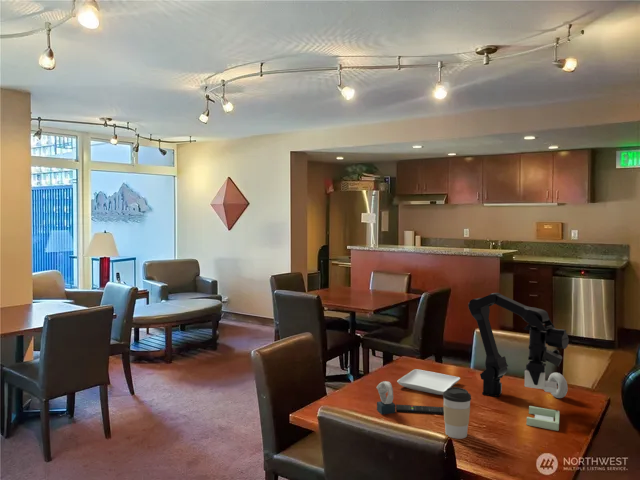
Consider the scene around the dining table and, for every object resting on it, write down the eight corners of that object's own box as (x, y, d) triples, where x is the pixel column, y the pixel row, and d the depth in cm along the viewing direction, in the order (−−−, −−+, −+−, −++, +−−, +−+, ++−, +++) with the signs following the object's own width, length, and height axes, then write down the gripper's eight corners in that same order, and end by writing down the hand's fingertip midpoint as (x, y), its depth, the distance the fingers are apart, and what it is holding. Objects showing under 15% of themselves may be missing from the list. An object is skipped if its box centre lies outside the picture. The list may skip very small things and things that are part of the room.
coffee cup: (438, 428, 166) (439, 385, 166) (464, 427, 167) (465, 384, 166) (447, 440, 157) (448, 394, 157) (474, 439, 158) (475, 394, 157)
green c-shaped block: (526, 424, 170) (526, 417, 170) (529, 412, 181) (529, 405, 181) (558, 430, 165) (558, 423, 165) (559, 417, 176) (559, 410, 176)
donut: (569, 401, 192) (570, 376, 191) (561, 402, 191) (562, 377, 191) (553, 392, 201) (553, 368, 201) (545, 393, 201) (546, 369, 200)
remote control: (396, 407, 186) (396, 404, 186) (461, 411, 182) (461, 408, 182) (396, 413, 180) (396, 409, 180) (463, 417, 177) (463, 413, 177)
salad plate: (461, 384, 212) (461, 376, 212) (445, 399, 194) (445, 391, 194) (414, 375, 223) (414, 367, 223) (395, 389, 206) (395, 381, 205)
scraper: (523, 388, 184) (524, 372, 184) (525, 382, 191) (525, 367, 190) (556, 393, 179) (556, 377, 179) (556, 387, 186) (557, 371, 185)
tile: (534, 424, 171) (534, 420, 171) (534, 418, 177) (535, 414, 177) (553, 428, 169) (553, 423, 169) (553, 421, 174) (553, 417, 174)
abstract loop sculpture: (388, 406, 185) (388, 378, 185) (397, 414, 178) (397, 385, 177) (374, 408, 184) (375, 379, 183) (383, 416, 176) (383, 386, 176)
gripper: (560, 352, 173) (559, 395, 174) (561, 340, 190) (560, 380, 190) (526, 347, 178) (525, 390, 179) (530, 336, 195) (529, 375, 195)
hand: (536, 383), depth 186 cm, fingers closed on scraper, 2 cm apart
